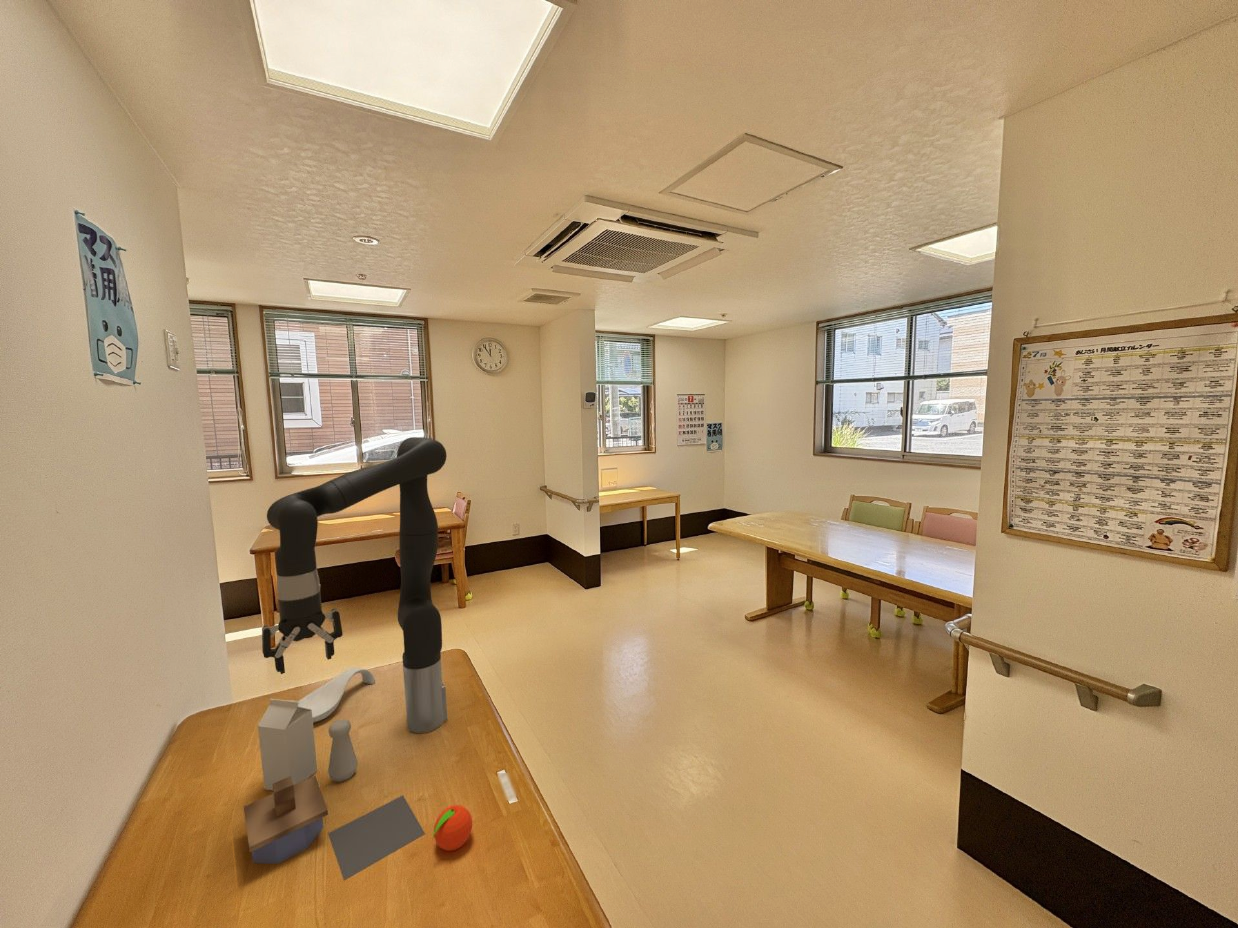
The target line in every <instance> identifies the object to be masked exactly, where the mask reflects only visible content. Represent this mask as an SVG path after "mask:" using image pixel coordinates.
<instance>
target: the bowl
mask: <svg viewBox="0 0 1238 928" xmlns="http://www.w3.org/2000/svg"><path fill="white" fill-rule="evenodd" d="M323 821H324V817H322V818H320V819H318V820H316V821H314V822H312V823H310V824H308V825H306V826H304V827H302V828H300V829H297V830H295V831H293V832H291V833H289V834H287V835H285V836H283V837H281V838H279V839H277V840H275V841H273V842H271V843H268V844H266V845H264V846H262V847H260V848H258V849H256V850H254V851H252V852H251V859H252V863H253V864H271V865H273V864H276V865H278V864H280V863H281V862H284V861H285V860H287V859H289V858H291V857H293V856H295V855H297V854H298V853H301V852H303V851H305V850H307V849H308V848H309V846H311V844H312V843H313V841H315V839H316V838H317V837H318V835H319V834H320V833H321V831H322V830H323V829H324V822H323Z"/></svg>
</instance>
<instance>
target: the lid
mask: <svg viewBox="0 0 1238 928" xmlns="http://www.w3.org/2000/svg"><path fill="white" fill-rule="evenodd" d="M272 786H273V791H272V793H271V794H269V795H267V796H265V797H263V798H260V799H258V800H256V801H253V802H251V803H248V804H246V805H244V806H243V811H244V820H245V828H246V834H247V836H246V837H247V843H248V849H249V851H248V852H249V853H252V851H254V850H256V849H258V848H260V847H262V846H264V845H266V844H268V843H271V842H273V841H275V840H277V839H279V838H281V837H283V836H285V835H287V834H289V833H291V832H293V831H295V830H297V829H300V828H302V827H304V826H306V825H308V824H310V823H312V822H314V821H316V820H318V819H320V818H322V817H323V818H325V817H326V816H328V815H329V813H328V810H329V809H328V807H327V804H326V801H325V799H324V795H323V793H322V789H321V787H320V785H319V782H318V779H317V776H316V775H314V776H310V777H309V778H308V779H306V780H304V781H302V782H299V783H297V784H295V785H293V781H292V778H291V776H290V777H287V778H285V779H283V780H280V781H278V782H275V783H273V784H272Z"/></svg>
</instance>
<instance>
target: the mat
mask: <svg viewBox="0 0 1238 928" xmlns="http://www.w3.org/2000/svg"><path fill="white" fill-rule="evenodd" d="M425 835H426V832H425V831H424V829H423V828H422V825H421V823H419V820H418V819H417V817H416V815H415V814H414V812H413V810H412V808H411V806H410V804H409V803H408V801H407V800H406V798H405V796H404V795H403V794H402V795H400V796H398V797H396V798H395V799H393V800H391V801H389V802H386V803H385V804H383V805H380V806H379V807H377V808H375V809H373V810H370V811H369V812H368V813H365V814H363V815H361V816H359V817H357V818H356V819H354V820H351V821H350V822H348V823H346V824H344V825H342V826H341V825H340V826H339V827H337V828H336V829H334V830H332V831H330V832H328V837H329V840H330V842H331V845H332V846H331V847H332V849H333V852H334V855H335V857H336V860H337V865H338V866H339V870H340V873H341V876H342V878H343V881H346V880H347V879H350V878H351V877H353V876H355V875H357V874H358V873H360V872H362V871H363V870H365V869H367V868H368V867H370V866H372V865H373V864H376V863H377V862H379V861H381V860H383V859H385V858H386V857H388V856H389V855H391V854H393V853H394V852H396V851H398V850H400V849H402V848H403V847H405V846H407V845H408V844H410V843H412V842H414V841H415V840H418V839H419V838H421V837H423V836H425Z"/></svg>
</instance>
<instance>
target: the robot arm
mask: <svg viewBox="0 0 1238 928" xmlns="http://www.w3.org/2000/svg"><path fill="white" fill-rule="evenodd" d="M447 457H448V456H447V450H446V448H445V446H444V444H442V443H441V442H440V441H438V440H436V439H433V438H430V437H429V438H428V437H417V436H413V437H412V436H411V437H407V438H406V439H404V440H403V441H401V442H400V444H399V446H398V449H397V453H396V457H395V458H393V459H390V460H386V461H385V462H381V463H378V464H374V465H371V466H367V467H363V468H360V469H355V470H352V471H350V472H347V473H345V474H342V475H340V476H337V477H335V478H332V479H331V480H329V481H326V482H324V483H322V484H320V485H317V486H314V487H310V488H307V489H304V490H301V491H300V490H299V491H297V492H293V493H291V494H288V495H285V496H284V497H281V498H279V499H277V500H276V501H274V502H273V503H272V504H271V505H269V507H268V509H267V512H266V519H267V522H268V524H269V525H270V526H271V527H273V529H276V530H278V531H279V547H278V548H277V549H276V552H275V567H276V591H277V592H276V593H277V603H278V613H279V623H278V624H277V625H271V626H269V625H264V626H263V627H261V645H262V647H261V648H262V650H261V651H262V652H261V653H262V654H263V657H264V658H265V659H268V658H273V659H274V668H275V670H276V672H277V673H280V675H283V674H285V673H286V667H285V659H284V652H286V650H287V649H288V648H289V646H290V645H291V644H292V642H299V641H302V640H304V639H311V638H313V637H314V636H315V635H317V636H318V637H319V638H321V639H323V640H324V650H325V657H326V659H327V660H332V657H333V656H334V655H335V644H334V642H335V641H336V640H337V639H338V638H342V637H343V634H344V633H343V628H342V627H343V626H342V622H341V616H340V612H339V611H338V609H337V608H331V610H330V611H328V612H323V609H322V608H323V607H322V597H321V584H320V576H319V573H318V568H317V567H318V565H317V558H316V557H317V555H316V550H315V549H316V548H315V547H316V542H317V537H318V535H317V534H318V528H319V524H318V523H319V522H318V521H319V520H318V517H320V516H324V515H330V514H337V513H339V512H341V511H344V510H346V509H347V508H351V506H354V505H356V504H358V503H360V502H362V501H364V500H366V499H368V498H371V497H373V496H374V495H376V494H379V493H381V492H384V491H386V490H388V489H391V488H394V487H396V486H399V538H398V539H399V541H398V543H399V544H398V547H399V548H398V549H399V566H400V579H401V580H400V581H401V582H400V592H399V601H398V607H397V609H398V610H397V622H398V625H399V627H400V628H401V630H402V634H403V648H404V650H403V653H402V671H403V673H402V674H403V683H404V686H403V687H404V696H405V697H404V698H405V712H406V724H407V725H406V727H407V730H408V731H409V732H410V733H413V734H424V733H429V732H431V731H434V730H436V729H438V728H439V727H440V726H441V725H442V724H443V723H444V722H446V721H448V706H447V705H448V704H447V689H446V685H445V684H444V682H443V669H442V656H441V655H442V653H441V652H442V649H443V628H442V617H441V613H440V611H439V609H438V608H437V607H436V606H435V605H434V604H433V599H432V589H431V588H432V587H431V577H432V576H431V575H432V571H433V568H434V564H435V561H436V558H437V554H438V547H439V524H438V520H437V519H438V518H437V516H436V512H435V510H434V507H433V504H432V502H431V499H430V496H429V490H428V476H429V475H432V474H435V473H437V472H438V471H440V470H441V469H442V468H443V467H444V465H445V464H446V461H447ZM326 619H328V621H329V622H330V623H331V622H332V628H333V631H332V632H330V633H329V632H328V631H327V630H326V629H324V628H323V627H322V625H323V624H324V622H325V620H326ZM277 632H279V633H281V634H282V636H281V637H280V639H279V642H278V643H277V645H276V646H275V647H274V648H272V643H271V642H272V641H271V639H272V638H274V637H275V635H276V633H277Z"/></svg>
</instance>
